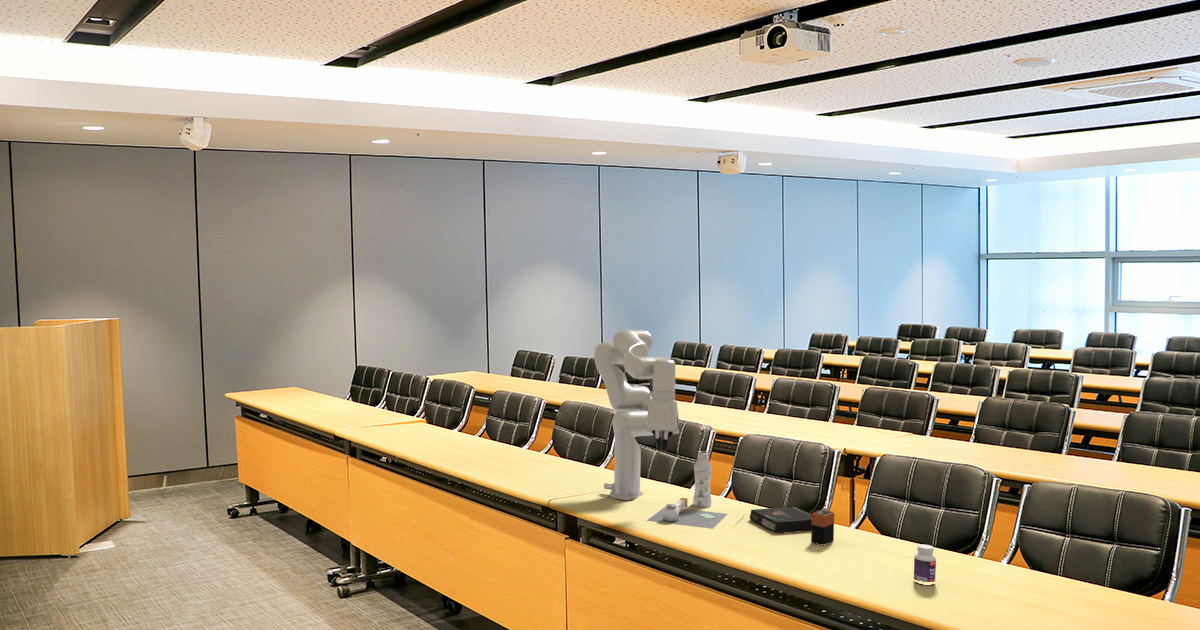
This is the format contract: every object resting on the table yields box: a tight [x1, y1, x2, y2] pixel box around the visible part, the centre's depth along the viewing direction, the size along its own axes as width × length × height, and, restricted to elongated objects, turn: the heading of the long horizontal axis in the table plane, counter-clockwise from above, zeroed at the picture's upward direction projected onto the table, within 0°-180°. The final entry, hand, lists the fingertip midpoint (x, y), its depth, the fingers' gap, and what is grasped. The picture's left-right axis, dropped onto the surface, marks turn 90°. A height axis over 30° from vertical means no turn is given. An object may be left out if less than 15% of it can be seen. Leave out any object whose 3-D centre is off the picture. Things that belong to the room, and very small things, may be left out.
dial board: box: [646, 508, 728, 529], centre depth 291 cm, size 22×20×2 cm
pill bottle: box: [913, 543, 937, 582], centre depth 234 cm, size 5×5×10 cm
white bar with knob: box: [662, 497, 689, 521], centre depth 293 cm, size 5×18×5 cm, turn 158°
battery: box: [810, 507, 835, 546], centre depth 270 cm, size 4×7×10 cm, turn 138°
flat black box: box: [749, 506, 813, 534], centre depth 289 cm, size 16×17×4 cm
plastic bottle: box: [692, 450, 713, 508], centre depth 307 cm, size 6×7×20 cm
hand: (662, 450), depth 298 cm, fingers closed
